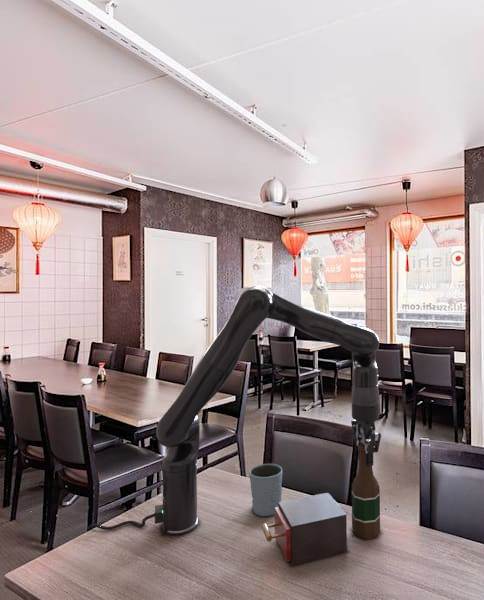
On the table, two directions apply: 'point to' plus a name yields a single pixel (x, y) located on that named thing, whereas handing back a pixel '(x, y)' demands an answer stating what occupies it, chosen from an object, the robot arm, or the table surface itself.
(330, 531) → the cabinet
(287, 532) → the drawer
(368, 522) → the beer bottle
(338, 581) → the table surface
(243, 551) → the table surface
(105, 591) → the table surface
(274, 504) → the drinking glass
